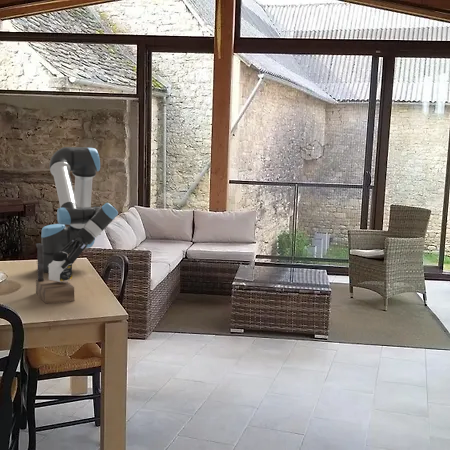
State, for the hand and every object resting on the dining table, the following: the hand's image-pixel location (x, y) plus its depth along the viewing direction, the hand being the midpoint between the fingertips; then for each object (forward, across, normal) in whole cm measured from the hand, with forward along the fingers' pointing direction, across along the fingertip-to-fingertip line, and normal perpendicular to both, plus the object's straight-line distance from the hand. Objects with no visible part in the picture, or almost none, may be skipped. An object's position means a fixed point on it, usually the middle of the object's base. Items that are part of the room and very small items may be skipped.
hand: (53, 270), depth 265 cm
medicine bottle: (+1, 0, -5) cm, 5 cm away
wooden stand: (+8, 0, -9) cm, 12 cm away
